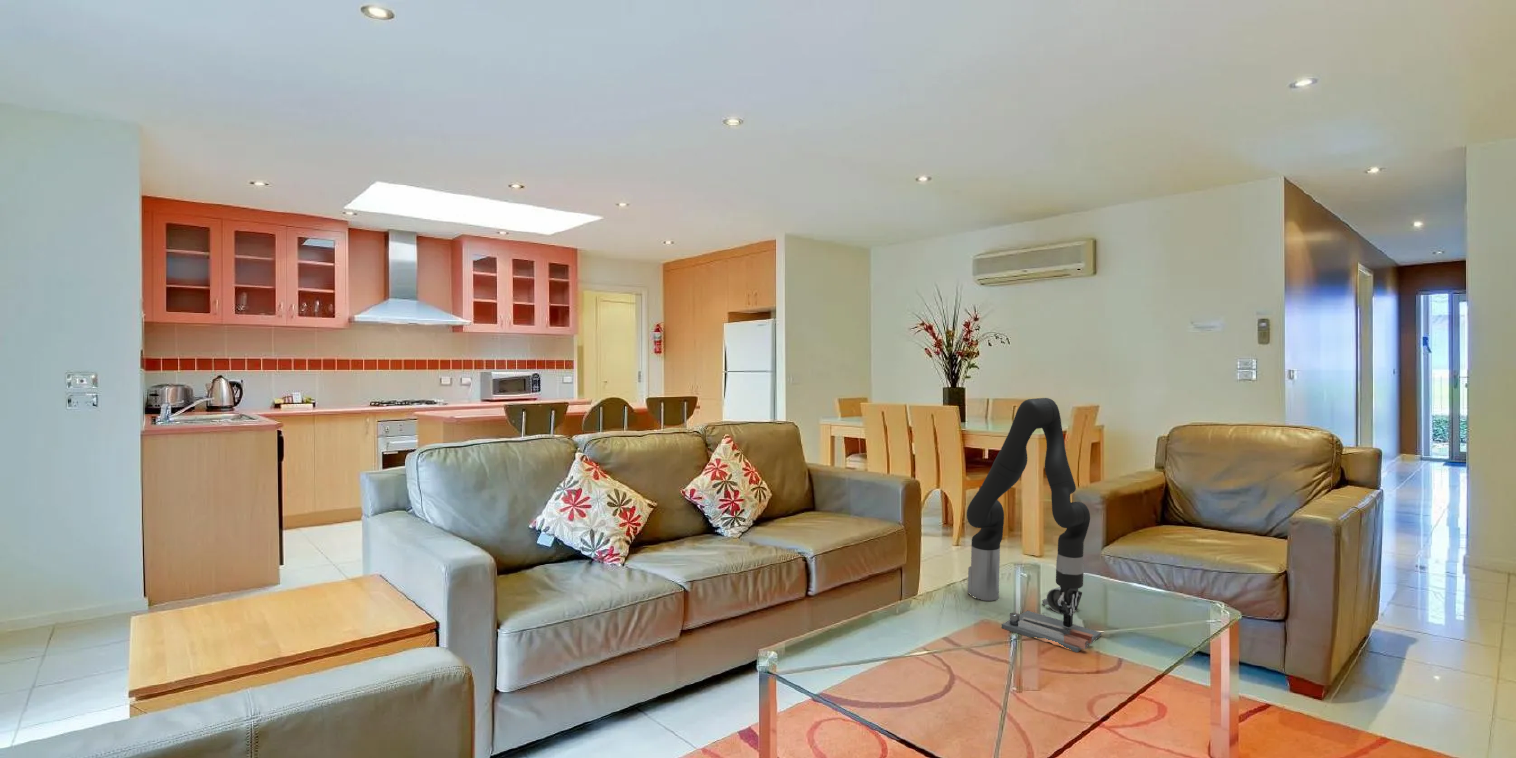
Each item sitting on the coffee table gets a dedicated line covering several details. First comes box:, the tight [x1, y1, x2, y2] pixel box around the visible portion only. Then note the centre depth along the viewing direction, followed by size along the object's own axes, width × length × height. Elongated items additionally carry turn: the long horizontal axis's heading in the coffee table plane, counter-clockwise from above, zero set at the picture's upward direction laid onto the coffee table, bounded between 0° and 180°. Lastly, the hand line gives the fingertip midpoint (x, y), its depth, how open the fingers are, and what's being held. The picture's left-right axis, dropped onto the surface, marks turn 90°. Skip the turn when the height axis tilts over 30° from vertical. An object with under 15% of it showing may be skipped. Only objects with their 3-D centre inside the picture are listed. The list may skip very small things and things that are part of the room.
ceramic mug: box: [1041, 586, 1061, 614], centre depth 240 cm, size 11×8×8 cm
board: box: [1001, 610, 1102, 653], centre depth 222 cm, size 23×16×1 cm
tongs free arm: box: [1022, 617, 1094, 645], centre depth 218 cm, size 20×2×2 cm, turn 49°
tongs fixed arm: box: [1009, 612, 1089, 650], centre depth 217 cm, size 24×3×3 cm, turn 43°
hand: (1067, 626), depth 221 cm, fingers closed
